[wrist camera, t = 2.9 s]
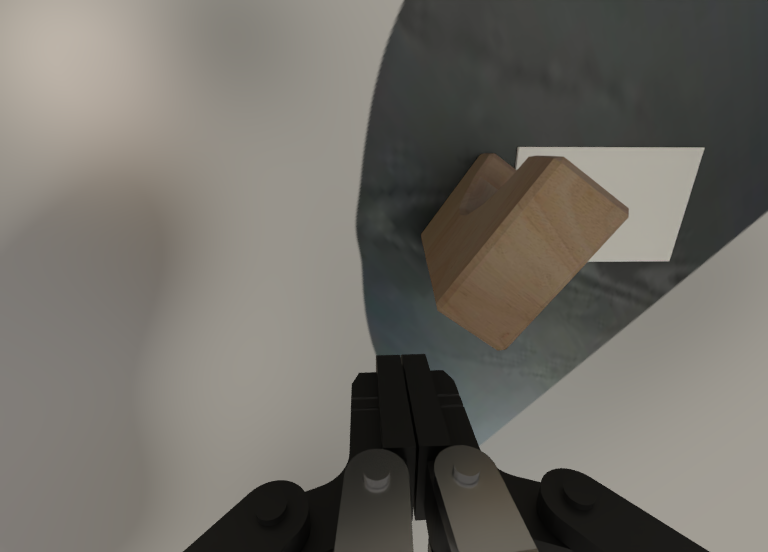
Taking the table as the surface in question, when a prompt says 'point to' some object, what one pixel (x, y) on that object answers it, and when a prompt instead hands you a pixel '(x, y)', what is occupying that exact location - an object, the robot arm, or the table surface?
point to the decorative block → (514, 241)
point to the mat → (636, 193)
